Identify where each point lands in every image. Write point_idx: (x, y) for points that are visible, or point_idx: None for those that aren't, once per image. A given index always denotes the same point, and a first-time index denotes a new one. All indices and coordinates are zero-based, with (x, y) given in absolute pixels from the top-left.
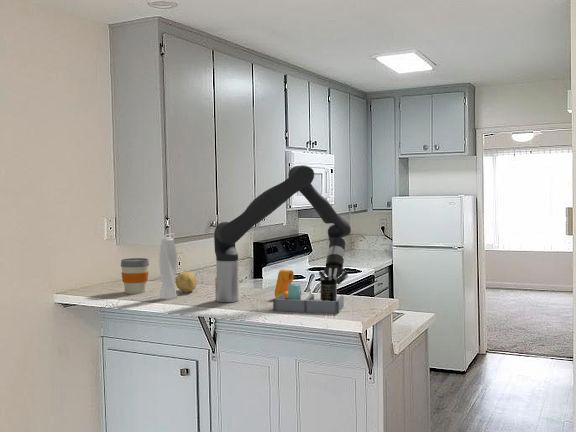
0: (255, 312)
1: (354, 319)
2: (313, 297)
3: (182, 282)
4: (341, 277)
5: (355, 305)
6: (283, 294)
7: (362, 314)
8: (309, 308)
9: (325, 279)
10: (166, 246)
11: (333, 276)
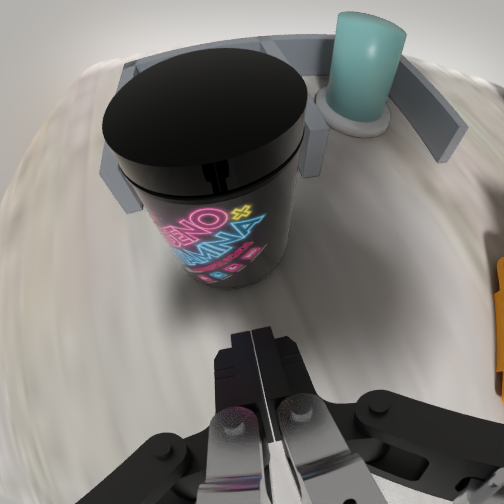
0: None
1: (92, 78)
2: (304, 136)
3: None
4: (109, 491)
5: (71, 269)
6: (445, 111)
7: (61, 127)
8: None
9: (225, 64)
10: None
11: (253, 484)
